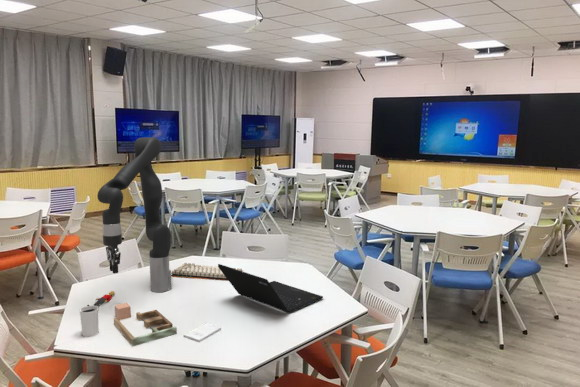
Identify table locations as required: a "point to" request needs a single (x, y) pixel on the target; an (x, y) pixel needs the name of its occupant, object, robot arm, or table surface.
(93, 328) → the drinking glass
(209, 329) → the external hard drive
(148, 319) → the brown frame
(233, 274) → the laptop
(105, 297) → the person figure
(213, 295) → the table surface
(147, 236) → the robot arm
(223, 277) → the mechanical keyboard
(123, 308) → the clay block
